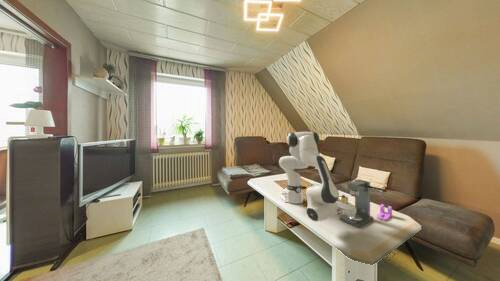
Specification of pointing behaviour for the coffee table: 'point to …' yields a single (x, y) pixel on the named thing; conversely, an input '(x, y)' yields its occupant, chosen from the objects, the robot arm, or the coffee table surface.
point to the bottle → (343, 199)
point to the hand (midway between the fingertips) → (344, 202)
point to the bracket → (384, 213)
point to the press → (360, 203)
